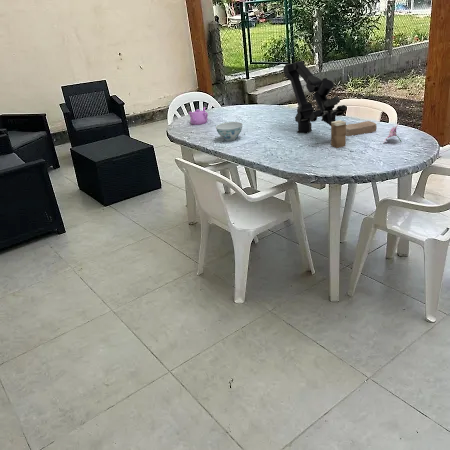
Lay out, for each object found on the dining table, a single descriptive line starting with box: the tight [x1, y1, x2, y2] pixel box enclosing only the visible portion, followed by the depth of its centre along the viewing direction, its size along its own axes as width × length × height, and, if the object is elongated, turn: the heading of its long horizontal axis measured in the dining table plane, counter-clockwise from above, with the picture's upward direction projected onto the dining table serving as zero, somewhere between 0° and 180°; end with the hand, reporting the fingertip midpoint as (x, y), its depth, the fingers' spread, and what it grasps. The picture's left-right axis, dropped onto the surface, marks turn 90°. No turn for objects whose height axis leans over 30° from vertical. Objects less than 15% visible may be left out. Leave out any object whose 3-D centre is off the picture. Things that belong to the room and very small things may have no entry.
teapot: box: [188, 106, 209, 126], centre depth 292 cm, size 12×14×9 cm
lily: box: [383, 122, 402, 144], centre depth 218 cm, size 12×12×10 cm
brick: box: [346, 120, 377, 137], centre depth 238 cm, size 17×8×5 cm, turn 99°
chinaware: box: [215, 121, 243, 142], centre depth 252 cm, size 15×15×8 cm
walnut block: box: [330, 119, 347, 149], centre depth 220 cm, size 5×5×12 cm
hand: (334, 127), depth 221 cm, fingers closed
